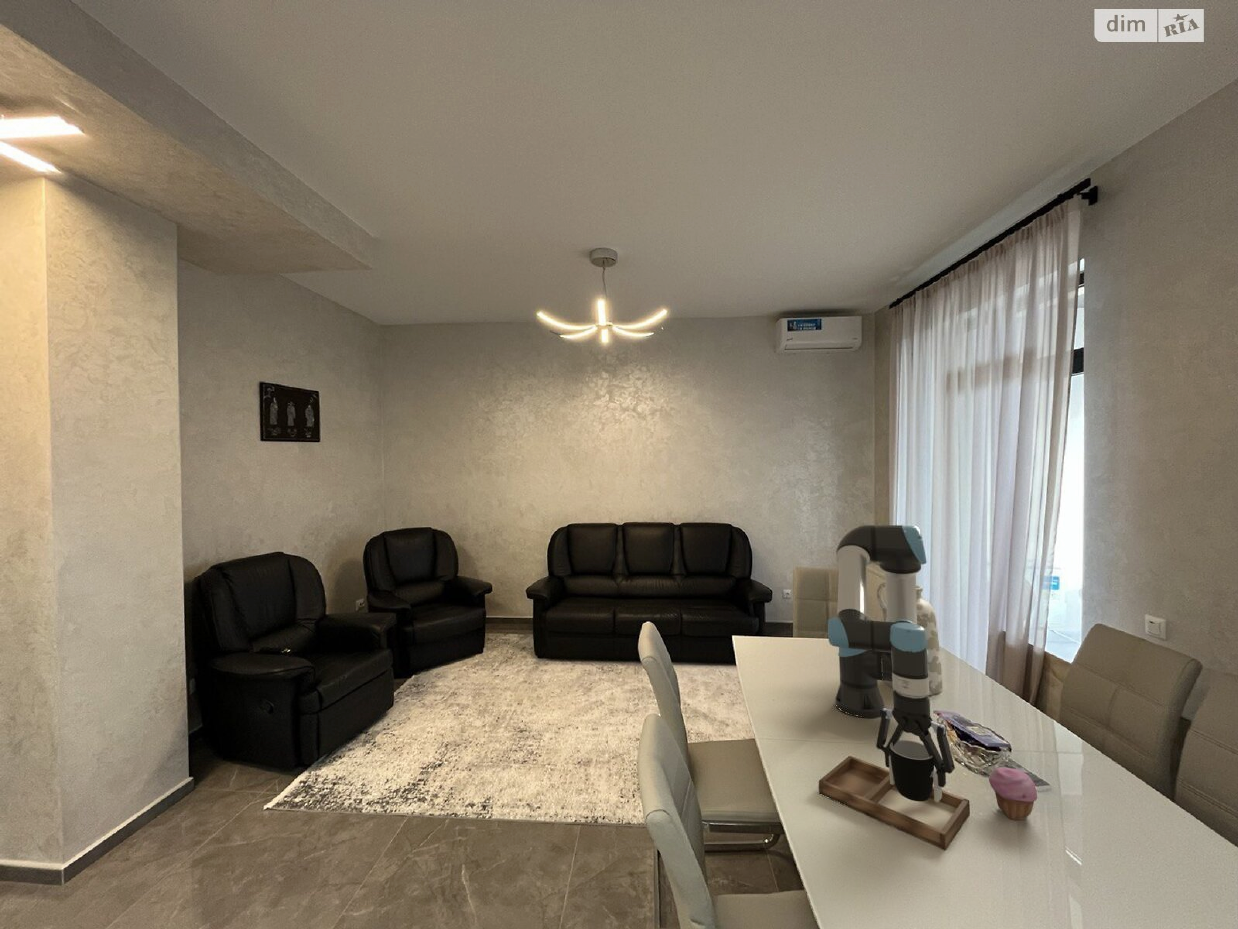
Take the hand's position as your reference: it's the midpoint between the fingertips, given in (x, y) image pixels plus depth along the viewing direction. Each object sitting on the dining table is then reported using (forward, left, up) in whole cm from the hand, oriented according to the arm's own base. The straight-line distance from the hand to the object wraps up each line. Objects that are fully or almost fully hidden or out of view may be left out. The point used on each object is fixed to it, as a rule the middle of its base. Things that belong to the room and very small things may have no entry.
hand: (915, 790), depth 123 cm
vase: (-29, +79, -6) cm, 84 cm away
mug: (-1, 0, 0) cm, 1 cm away
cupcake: (+15, +16, -6) cm, 23 cm away
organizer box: (-6, 0, -5) cm, 8 cm away
